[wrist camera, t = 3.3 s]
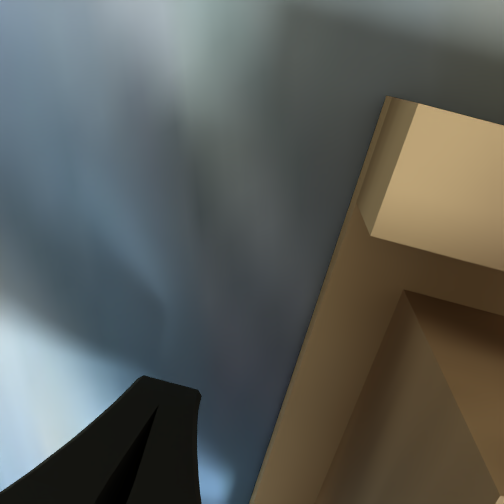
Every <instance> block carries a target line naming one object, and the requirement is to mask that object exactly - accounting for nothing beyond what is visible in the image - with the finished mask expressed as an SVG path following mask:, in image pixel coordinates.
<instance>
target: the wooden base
mask: <svg viewBox="0 0 504 504" xmlns="http://www.w3.org/2000/svg"><path fill="white" fill-rule="evenodd" d="M403 289H404V290H408V291H412V292H416V293H419V294H423V295H427V296H431V297H434V298H438V299H442V300H446V301H449V302H453V303H457V304H461V305H464V306H468V307H472V308H476V309H479V310H483V311H487V312H491V313H494V314H498V315H502V316H504V126H503V125H499V124H495V123H492V122H488V121H484V120H480V119H476V118H473V117H469V116H465V115H461V114H457V113H454V112H450V111H446V110H442V109H438V108H435V107H431V106H427V105H423V104H419V103H415V102H411V101H407V100H403V99H399V98H395V97H391V96H386V98H385V101H384V104H383V107H382V110H381V113H380V116H379V119H378V122H377V125H376V128H375V131H374V134H373V137H372V140H371V143H370V146H369V149H368V152H367V155H366V158H365V161H364V164H363V167H362V170H361V173H360V176H359V179H358V182H357V185H356V188H355V191H354V193H353V196H352V199H351V202H350V205H349V208H348V211H347V214H346V217H345V220H344V223H343V226H342V229H341V232H340V235H339V238H338V241H337V244H336V247H335V250H334V253H333V256H332V259H331V262H330V265H329V268H328V271H327V274H326V277H325V280H324V283H323V285H322V288H321V291H320V294H319V297H318V300H317V303H316V306H315V309H314V312H313V315H312V318H311V321H310V324H309V327H308V330H307V333H306V336H305V339H304V342H303V345H302V348H301V351H300V354H299V357H298V360H297V363H296V366H295V369H294V372H293V375H292V378H291V380H290V383H289V386H288V389H287V392H286V395H285V398H284V401H283V404H282V407H281V410H280V413H279V416H278V419H277V422H276V425H275V428H274V431H273V434H272V437H271V440H270V443H269V446H268V449H267V452H266V455H265V458H264V461H263V464H262V467H261V470H260V473H259V475H258V478H257V481H256V484H255V487H254V490H253V493H252V496H251V499H250V502H249V504H315V502H316V499H317V497H318V494H319V492H320V489H321V487H322V485H323V482H324V480H325V477H326V475H327V473H328V470H329V468H330V465H331V463H332V460H333V458H334V456H335V453H336V451H337V448H338V446H339V443H340V441H341V439H342V436H343V434H344V431H345V429H346V427H347V424H348V422H349V419H350V417H351V414H352V412H353V410H354V407H355V405H356V402H357V400H358V398H359V395H360V393H361V390H362V388H363V385H364V383H365V381H366V378H367V376H368V373H369V371H370V369H371V366H372V364H373V361H374V359H375V356H376V354H377V352H378V349H379V347H380V344H381V342H382V340H383V337H384V335H385V332H386V330H387V327H388V325H389V323H390V320H391V318H392V315H393V313H394V311H395V308H396V306H397V303H398V301H399V298H400V296H401V294H402V291H403Z"/></svg>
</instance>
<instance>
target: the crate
mask: <svg viewBox="0 0 504 504" xmlns="http://www.w3.org/2000/svg"><path fill="white" fill-rule="evenodd" d="M315 504H504V316H502V315H498V314H494V313H491V312H487V311H483V310H479V309H476V308H472V307H468V306H464V305H461V304H457V303H453V302H449V301H446V300H442V299H438V298H434V297H431V296H427V295H423V294H419V293H416V292H412V291H408V290H404V289H403V291H402V294H401V296H400V298H399V301H398V303H397V306H396V308H395V311H394V313H393V315H392V318H391V320H390V323H389V325H388V327H387V330H386V332H385V335H384V337H383V340H382V342H381V344H380V347H379V349H378V352H377V354H376V356H375V359H374V361H373V364H372V366H371V369H370V371H369V373H368V376H367V378H366V381H365V383H364V385H363V388H362V390H361V393H360V395H359V398H358V400H357V402H356V405H355V407H354V410H353V412H352V414H351V417H350V419H349V422H348V424H347V427H346V429H345V431H344V434H343V436H342V439H341V441H340V443H339V446H338V448H337V451H336V453H335V456H334V458H333V460H332V463H331V465H330V468H329V470H328V473H327V475H326V477H325V480H324V482H323V485H322V487H321V489H320V492H319V494H318V497H317V499H316V502H315Z"/></svg>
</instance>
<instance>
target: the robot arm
mask: <svg viewBox="0 0 504 504" xmlns="http://www.w3.org/2000/svg"><path fill="white" fill-rule="evenodd" d="M201 397H202V395H201V394H200V392H199V391H198V390H196V389H193V388H189V387H185V386H181V385H178V384H174V383H170V382H166V381H163V380H159V379H155V378H151V377H148V376H142V377H140V378H138V379H137V380H136V381H135V382H134V383H133V384H132V385H131V386H130V387H129V388H128V389H127V390H126V391H125V392H124V393H123V394H122V395H121V396H120V397H119V398H118V399H117V400H116V401H115V402H114V403H113V404H112V405H111V406H110V407H108V408H107V409H106V410H105V411H104V412H103V413H102V414H101V415H100V416H99V417H97V418H96V419H95V420H94V421H93V422H92V423H90V424H89V425H88V426H87V427H86V428H85V429H83V430H82V431H81V432H80V433H79V434H77V435H76V436H75V437H74V438H73V439H71V440H70V441H69V442H68V443H67V444H65V445H64V446H63V447H61V448H60V449H59V450H57V451H56V452H55V453H54V454H52V455H51V456H50V457H48V458H47V459H46V460H44V461H43V462H42V463H40V464H39V465H38V466H37V467H35V468H34V469H33V470H31V471H30V472H28V473H27V474H26V475H24V476H23V477H21V478H20V479H19V480H17V481H16V482H14V483H13V484H11V485H10V486H9V487H7V488H6V489H4V490H3V491H1V492H0V504H201V497H200V487H199V475H198V459H197V421H198V410H199V405H200V401H201Z"/></svg>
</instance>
